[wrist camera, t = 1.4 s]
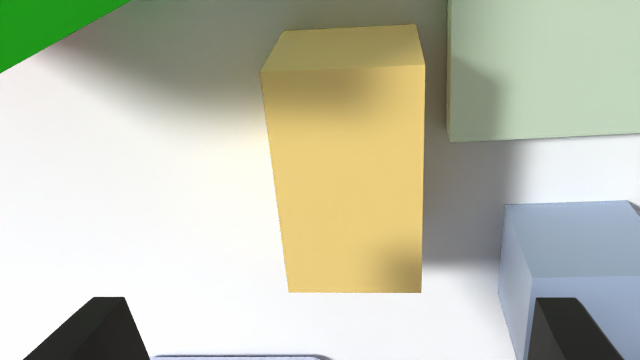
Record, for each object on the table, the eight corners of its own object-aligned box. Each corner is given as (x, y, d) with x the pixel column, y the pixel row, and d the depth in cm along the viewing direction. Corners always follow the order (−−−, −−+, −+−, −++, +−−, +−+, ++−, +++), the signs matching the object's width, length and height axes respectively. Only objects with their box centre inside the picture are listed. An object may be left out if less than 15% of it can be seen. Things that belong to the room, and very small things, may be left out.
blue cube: (608, 290, 21) (654, 376, 17) (497, 292, 21) (521, 376, 18) (626, 198, 19) (683, 275, 15) (504, 203, 19) (532, 277, 16)
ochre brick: (413, 218, 20) (421, 292, 17) (303, 219, 21) (288, 292, 17) (415, 22, 17) (425, 64, 13) (283, 29, 17) (259, 72, 14)
